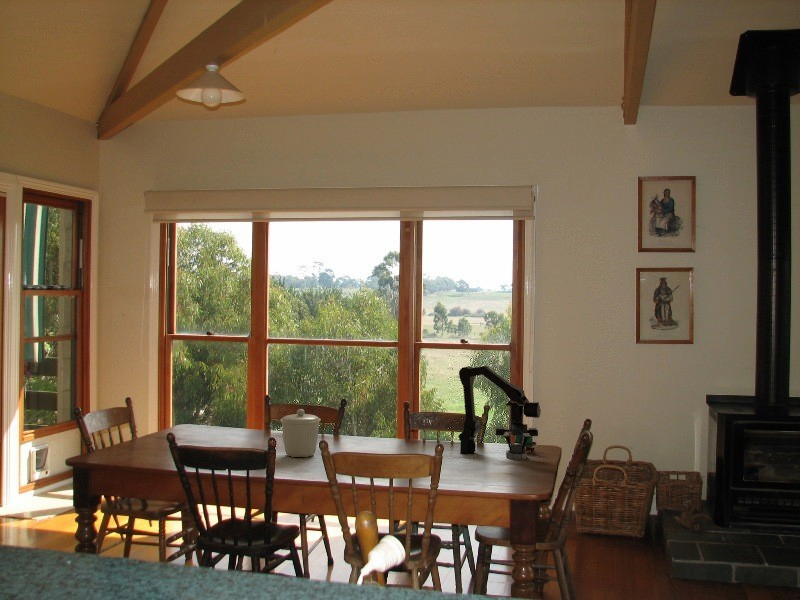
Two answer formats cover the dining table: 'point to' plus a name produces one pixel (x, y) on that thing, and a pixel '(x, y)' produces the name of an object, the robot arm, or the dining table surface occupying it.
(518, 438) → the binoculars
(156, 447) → the dining table surface
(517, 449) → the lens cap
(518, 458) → the barrel ring
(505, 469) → the dining table surface
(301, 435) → the canister
